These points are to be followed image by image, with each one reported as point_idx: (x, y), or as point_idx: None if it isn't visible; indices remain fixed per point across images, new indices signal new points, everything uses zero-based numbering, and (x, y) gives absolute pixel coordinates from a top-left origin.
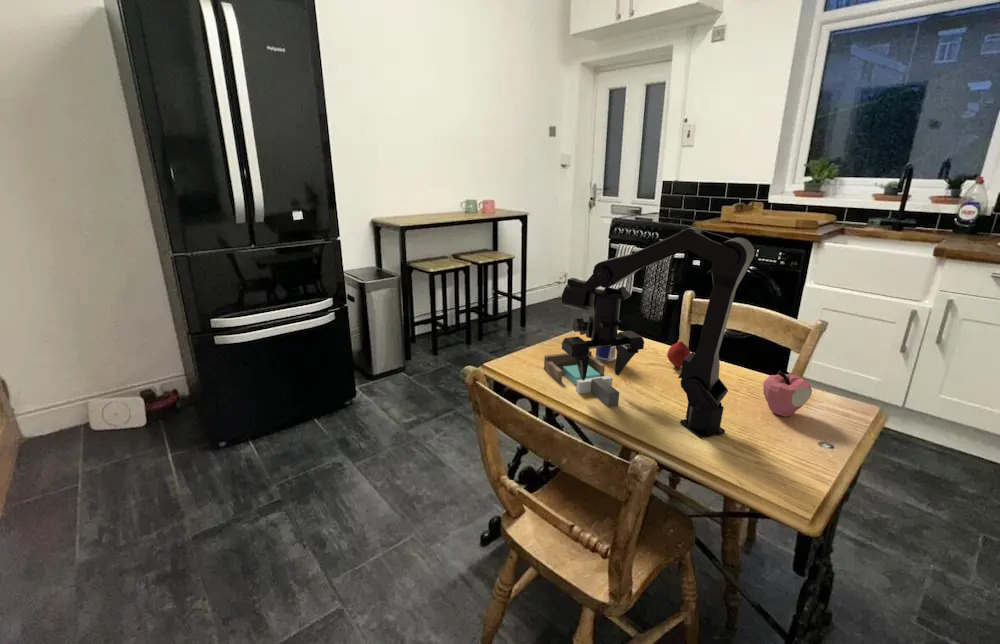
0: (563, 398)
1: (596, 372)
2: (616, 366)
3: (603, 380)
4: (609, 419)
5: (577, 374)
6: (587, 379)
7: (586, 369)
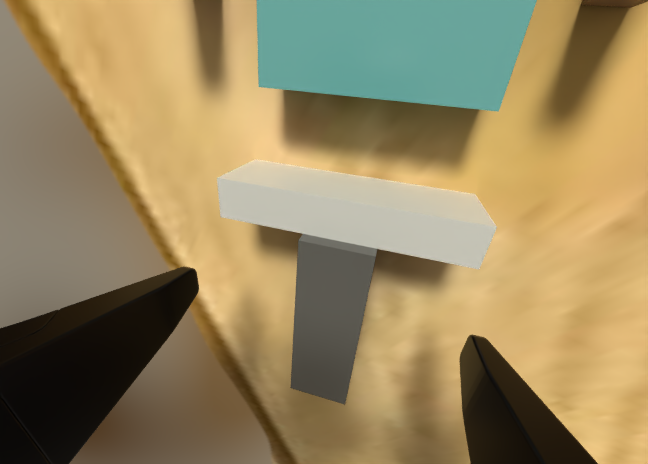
0: (172, 197)
1: (501, 56)
2: (488, 405)
3: (360, 291)
4: (270, 374)
5: (303, 29)
6: (290, 201)
7: (113, 397)
